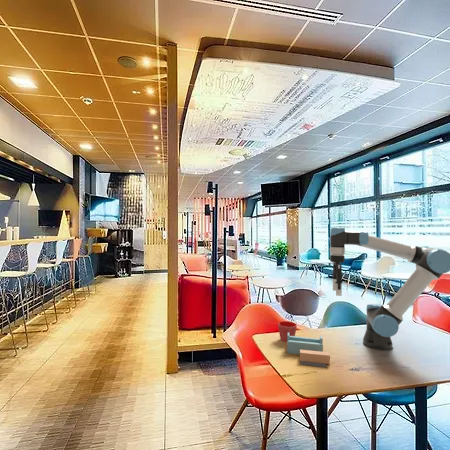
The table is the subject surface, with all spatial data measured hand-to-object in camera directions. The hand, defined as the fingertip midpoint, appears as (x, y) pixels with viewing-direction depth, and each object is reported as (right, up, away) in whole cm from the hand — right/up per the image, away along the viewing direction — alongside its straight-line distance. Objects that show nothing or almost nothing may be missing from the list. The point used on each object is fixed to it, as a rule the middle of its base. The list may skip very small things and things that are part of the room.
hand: (336, 293), depth 165 cm
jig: (-20, -30, -6) cm, 37 cm away
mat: (-19, -30, -18) cm, 40 cm away
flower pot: (-26, -31, +11) cm, 41 cm away
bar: (-18, -30, -18) cm, 39 cm away
